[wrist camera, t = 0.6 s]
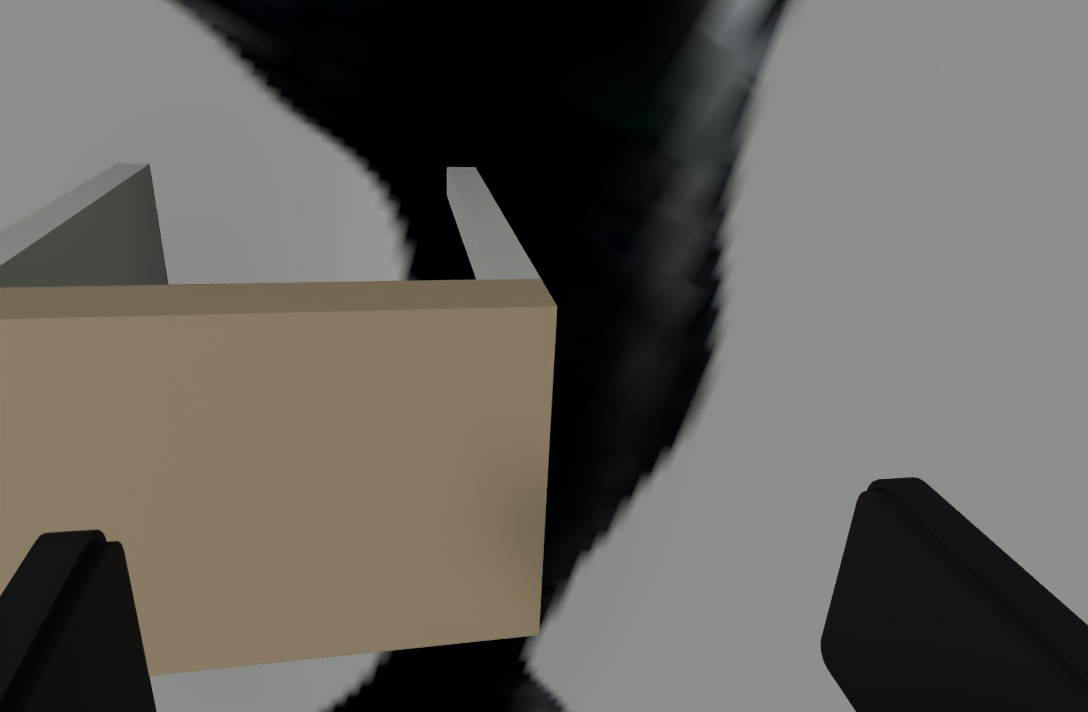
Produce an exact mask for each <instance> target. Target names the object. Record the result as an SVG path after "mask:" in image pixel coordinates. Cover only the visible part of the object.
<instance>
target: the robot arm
mask: <svg viewBox="0 0 1088 712" xmlns="http://www.w3.org/2000/svg"><path fill="white" fill-rule="evenodd" d="M821 653H822V657H823V660H824V663H825V665H826V667H827V669H828V670H829V672H830V673H831V675H832V676H833V678H834V679H835V681H836V682H837V684H838V685H839V687H840V688H841V690H842V691H843V693H844V694H845V696H846V697H847V699H848V700H849V702H850V703H851V705H852V706H853V707H854V709H855V711H856V712H1088V625H1087V624H1085V622H1083V621H1082V620H1081V619H1080V618H1079V617H1078V616H1077V615H1075V614H1074V613H1073V612H1072V611H1071V610H1070V609H1069V608H1067V607H1066V606H1065V605H1064V604H1063V603H1062V602H1061V601H1060V600H1058V599H1057V598H1056V597H1055V596H1054V595H1053V594H1052V593H1050V592H1049V591H1048V590H1047V589H1046V588H1045V587H1044V586H1043V585H1041V584H1040V583H1039V582H1038V581H1037V580H1036V579H1034V578H1033V577H1032V576H1031V575H1030V574H1029V573H1028V572H1026V571H1025V570H1024V569H1023V568H1022V567H1021V566H1020V565H1019V564H1018V563H1016V562H1015V561H1014V560H1013V559H1012V558H1010V556H1008V555H1007V554H1006V553H1005V552H1004V551H1002V549H1000V548H999V547H998V546H997V545H996V544H995V543H994V542H993V541H991V540H990V539H989V538H988V537H987V536H986V535H984V534H983V533H982V532H981V531H980V530H979V529H978V528H977V527H975V526H974V525H973V524H972V523H971V522H970V521H969V520H967V519H966V518H965V517H964V516H963V515H962V514H961V513H960V512H958V511H957V510H956V509H955V508H954V507H953V506H952V505H951V504H949V503H948V502H947V501H946V500H945V499H944V498H943V497H941V496H940V495H939V494H938V493H937V492H936V491H935V490H933V489H932V488H931V487H930V486H929V485H928V484H927V483H926V482H924V481H922V480H921V479H919V478H914V477H911V478H894V479H878V480H876V481H873V482H872V483H871V484H870V485H869V487H868V489H867V491H865V492H862V493H861V494H860V496H859V498H858V500H857V503H856V507H855V511H854V515H853V519H852V523H851V527H850V530H849V534H848V538H847V542H846V546H845V550H844V553H843V557H842V561H841V565H840V569H839V572H838V576H837V580H836V584H835V588H834V592H833V596H832V600H831V603H830V607H829V611H828V615H827V619H826V623H825V626H824V630H823V634H822V638H821ZM0 712H156V707H155V702H154V697H153V692H152V687H151V683H150V677H149V672H148V667H147V662H146V657H145V652H144V647H143V642H142V637H141V632H140V627H139V622H138V617H137V612H136V607H135V602H134V597H133V592H132V587H131V582H130V577H129V572H128V567H127V562H126V557H125V552H124V549H123V546H122V544H121V542H119V541H110V542H107V540H106V537H105V535H104V534H103V532H102V531H100V530H98V529H96V530H80V531H65V532H49V533H44V534H41V535H40V536H39V537H38V539H37V540H36V541H35V542H34V544H33V546H32V547H31V549H30V550H29V552H28V553H27V555H26V557H25V558H24V560H23V561H22V563H21V564H20V566H19V567H18V569H17V571H16V572H15V574H14V575H13V577H12V578H11V580H10V582H9V583H8V585H7V586H6V588H5V589H4V591H3V592H2V594H1V596H0Z"/></svg>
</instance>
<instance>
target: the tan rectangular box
mask: <svg viewBox="0 0 1088 712" xmlns="http://www.w3.org/2000/svg"><path fill="white" fill-rule="evenodd" d="M447 197H448V200H449V203H450V205H451V208H452V211H453V214H454V217H455V220H456V223H457V225H458V228H459V231H460V234H461V237H462V240H463V243H464V245H465V248H466V251H467V254H468V257H469V260H470V262H471V265H472V268H473V271H474V274H475V277H476V280H433V281H376V282H374V281H372V282H314V283H313V282H312V283H311V282H310V283H253V284H252V283H251V284H191V285H190V284H188V285H168V279H167V273H166V266H165V260H164V254H163V248H162V241H161V235H160V228H159V222H158V215H157V209H156V202H155V196H154V190H153V183H152V177H151V171H150V164H130V163H129V164H128V163H127V164H126V163H116V164H115V165H113V166H111V167H109V168H108V169H106V170H104V171H102V172H101V173H99V174H98V175H96V176H94V177H92V178H91V179H89V180H87V181H86V182H84V183H82V184H81V185H79V186H78V187H76V188H74V189H72V190H71V191H69V192H68V193H66V194H64V195H62V196H61V197H59V198H57V199H56V200H54V201H52V202H51V203H49V204H47V205H46V206H44V207H42V208H40V209H39V210H37V211H35V212H34V213H32V214H31V215H29V216H27V217H25V218H24V219H22V220H20V221H19V222H17V223H15V224H13V225H12V226H10V227H9V228H7V229H5V230H3V231H2V232H0V596H1V594H2V592H3V591H4V589H5V588H6V586H7V585H8V583H9V582H10V580H11V578H12V577H13V575H14V574H15V572H16V571H17V569H18V567H19V566H20V564H21V563H22V561H23V560H24V558H25V557H26V555H27V553H28V552H29V550H30V549H31V547H32V546H33V544H34V542H35V541H36V540H37V539H38V537H39V536H40V535H41V534H44V533H49V532H65V531H80V530H96V529H98V530H100V531H102V532H103V534H104V535H105V537H106V540H107V542H110V541H119V542H121V544H122V546H123V549H124V552H125V557H126V562H127V567H128V572H129V577H130V582H131V587H132V592H133V597H134V602H135V607H136V612H137V617H138V622H139V627H140V632H141V637H142V642H143V647H144V652H145V657H146V662H147V667H148V672H149V676H152V675H162V674H171V673H180V672H190V671H199V670H209V669H219V668H228V667H238V666H247V665H257V664H266V663H276V662H285V661H295V660H304V659H314V658H323V657H333V656H343V655H352V654H361V653H371V652H381V651H390V650H400V649H409V648H419V647H428V646H438V645H447V644H457V643H466V642H476V641H485V640H495V639H504V638H514V637H523V636H533V635H539V622H540V604H541V586H542V568H543V550H544V532H545V514H546V496H547V478H548V460H549V442H550V424H551V406H552V388H553V370H554V352H555V334H556V316H557V305H556V304H555V302H554V300H553V299H552V297H551V295H550V294H549V292H548V290H547V288H546V287H545V285H544V283H543V282H542V280H541V278H540V277H539V275H538V273H537V271H536V270H535V268H534V266H533V265H532V263H531V261H530V259H529V258H528V256H527V254H526V253H525V251H524V249H523V248H522V246H521V244H520V242H519V241H518V239H517V237H516V236H515V234H514V232H513V231H512V229H511V227H510V225H509V224H508V222H507V220H506V219H505V217H504V215H503V214H502V212H501V210H500V208H499V207H498V205H497V203H496V202H495V200H494V198H493V197H492V195H491V193H490V191H489V190H488V188H487V186H486V185H485V183H484V181H483V179H482V178H481V176H480V174H479V173H478V171H477V169H476V168H475V167H447Z"/></svg>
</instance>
